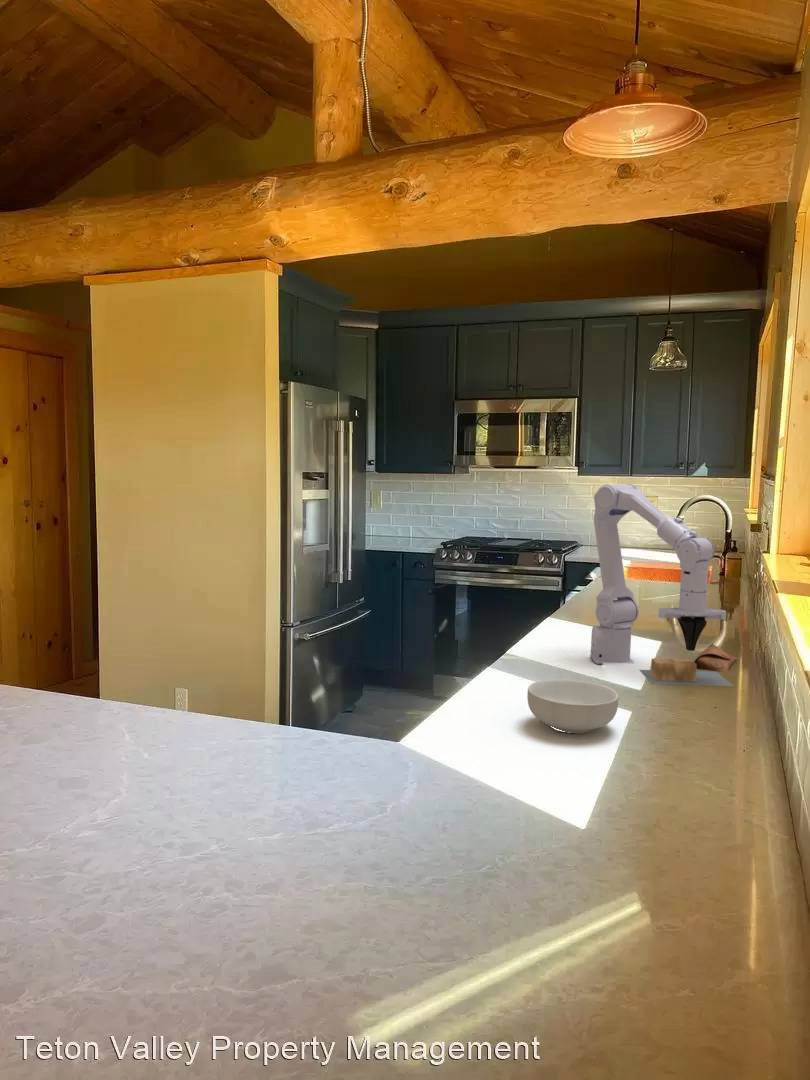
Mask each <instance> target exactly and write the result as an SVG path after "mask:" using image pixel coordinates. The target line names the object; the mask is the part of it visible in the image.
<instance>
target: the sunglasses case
mask: <svg viewBox="0 0 810 1080" xmlns="http://www.w3.org/2000/svg"><path fill="white" fill-rule="evenodd" d="M738 660H740V659H739V658H738V657H736V656H734V655H732V654H729V653H728V652H726V651H725V650H723V649H721V648H720V646H717V645H716V644H710V645H708V647H707V648H705V649H704V650H703V651H702V652H701V653H700V654H699V655H698V656H697V657H696V658H695V660H693V662H695V663H696V664H697V668H696V670H701V671H702V670H703V671H709V672H720V673H721V672H722V673H723V672H724V673H725V672H726V673H728V672H729V671H730V670H731V668H732V667H733V665H734V664H735V663H736V662H737V661H738Z"/></svg>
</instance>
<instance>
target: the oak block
mask: <svg viewBox="0 0 810 1080" xmlns="http://www.w3.org/2000/svg"><path fill="white" fill-rule="evenodd" d="M696 668H697V664H696V663H695V662H694V660H692V659H684V658H683V659H681V658H680V659H678V658H677V659H676V658H651V663H650V670H651V676H652V677H653V678H654V679H655V680H661V681H696V671H697V669H696Z"/></svg>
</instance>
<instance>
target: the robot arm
mask: <svg viewBox="0 0 810 1080" xmlns="http://www.w3.org/2000/svg"><path fill="white" fill-rule="evenodd" d="M593 501H594V508H595V509H594V514H593V525H594V530H595V531H594V532H595V537H596V545H597V552H598V554H597V555H598V561H599V568H600V574H601V581H602V583H601V584H602V590H601V591H600V592H599V593H598V594H597V596H596V607H595V618H596V619H597V621H598V623H599V625H593V626H592V628H591V629H592V630H591V637H590V638H591V639H590V655H589V657H590V658H591V659H592V660H593V661H594V663H595V664H596V665H604V664H605V663H606V664H635V662H634V661H633V660H632V659H631V648H632V647H631V645H632V643H631V642H632V627H634V622H635V621H636V620H638V618H639V612H640V610H639V606H638V603H637V602H636V600H635V596H634V592H633V591H632V590H631V589H630V588H628V587H627V585H626V579H625V573H624V572H625V571H624V564H623V557H622V551H621V543H620V535H619V529H618V523H619V522H620V521H621V519H622V518H623V517H624V516H626V515H627V514H629V513H630V512H631V511H632V512H635V513H636V514H637V515H639V516H640V517H641V518H642V519H644V520H645V521H647V522H648V523H649V524H651V525H652V526H654V527H655V528H656V535H657V536H658V537H659V538H660V539H661V540H662V541H664V542H665V543H666V544H667V545H668V546H670V547H671V548H672V549H673V550H674V551H675V552H676V553H675V554H676V557H677V558H678V560H679V568H680V586H679V587H680V588H679V606H678V607H668V608H667V607H663V608H662V607H661V608H660V607H659V608H658V617H659V618H660V619H667V618H668V619H669V618H672V619H677V621H678V624H679V626H680V629H681V632H682V635H683V639H684V642H685V644H684V645H685V649H686V650H687V651H690V652H692V651H693V652H694V651H695V650H696V647H697V643H698V640H699V639H700V636H701V634H702V633H703V631H704V629H705V628H706V626H707V619H709V620H722V621H724V620H725V621H726V620H727V611H726V610H724V609H716V608H715V609H714V608H707V598H708V597H707V595H708V581H709V562H710V561H711V560H712V559H713V557H714V556H715V554H716V553H715V552H716V551H715V550H716V548H715V545H714V542H712V540H711V539H710V538H709V537H707V536H705V535H704V536H699V535H698V532H696V530H692V529H690V528H689V527H688V526H687V525H685V524H684V523H683V521H684V520H683V519H682V518H681V517H676V516H669V517H668V516H667V515H666V514H665V513H663V511H661V510H660V509H659V508H658V507H657V506H656V505H655V504H654V503H653V502H651V500H650V499H649V498H648V497H646V496H645V494H644V492H643V490H641V489H640V488H638V487H637V486H636V485H634V484H631V483H627V484H608V483H607V484H606V483H605V484H602V485H601V486H600V487H599V488H598V490H596V492H595V493H594V495H593Z"/></svg>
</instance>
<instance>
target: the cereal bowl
mask: <svg viewBox="0 0 810 1080" xmlns="http://www.w3.org/2000/svg"><path fill="white" fill-rule="evenodd" d="M526 699H527V705H528V708H529V710H530V711H531V713H532V715H534V717H535V718H536V719H537V720H539V721H540V722H542V723H544V724H546V725H547V726H549V725H550V726H552V727H554V728H556V729H559V730H562V731H565V732H570V733H575V734H576V735H579V734H587V733H589V732H591V731H593V730H596V729H600V728H602V727H604V726H607V725H608V724H609V723H610V722H611V721H612V720H614V718H615V716H616V714H617V712H618V707H619V694H618V693H617V692H616V691H615V690H614V689H613V688H611V687H608V686H606V685H602V684H599V683H594V682H589V681H582V680H577V679H576V680H575V679H544V680H538V681H534V682H532V683H531V684H529V686H528V687H527V697H526ZM550 726H549V727H550ZM570 733H569V734H570ZM575 734H574V735H575Z"/></svg>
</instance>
